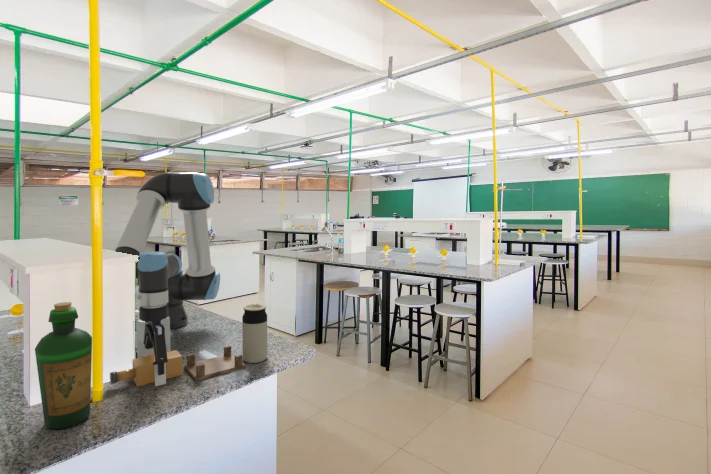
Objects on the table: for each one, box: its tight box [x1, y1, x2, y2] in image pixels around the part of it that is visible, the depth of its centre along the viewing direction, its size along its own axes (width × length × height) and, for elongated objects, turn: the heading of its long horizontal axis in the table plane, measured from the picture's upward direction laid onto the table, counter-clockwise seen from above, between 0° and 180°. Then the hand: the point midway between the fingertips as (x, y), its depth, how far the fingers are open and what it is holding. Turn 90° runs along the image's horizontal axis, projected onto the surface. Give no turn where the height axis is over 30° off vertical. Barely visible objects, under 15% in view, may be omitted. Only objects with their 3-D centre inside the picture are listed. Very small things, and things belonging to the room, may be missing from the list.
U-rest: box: [184, 344, 246, 382], centre depth 118 cm, size 15×11×4 cm
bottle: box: [34, 301, 93, 430], centre depth 87 cm, size 11×11×28 cm
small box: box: [136, 317, 172, 359], centre depth 125 cm, size 8×6×13 cm
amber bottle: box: [109, 349, 183, 387], centre depth 109 cm, size 18×6×6 cm, turn 129°
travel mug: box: [241, 302, 268, 364], centre depth 125 cm, size 8×8×18 cm
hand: (155, 376), depth 111 cm, fingers open, 12 cm apart
